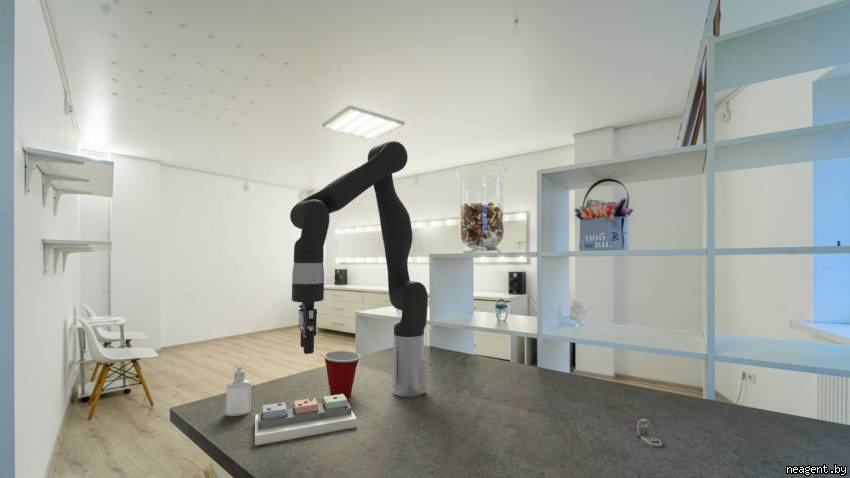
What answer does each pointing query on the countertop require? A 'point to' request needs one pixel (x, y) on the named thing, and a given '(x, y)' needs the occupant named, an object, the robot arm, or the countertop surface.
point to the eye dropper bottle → (238, 395)
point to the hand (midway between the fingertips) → (306, 349)
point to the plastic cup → (341, 371)
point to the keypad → (303, 423)
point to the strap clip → (645, 434)
